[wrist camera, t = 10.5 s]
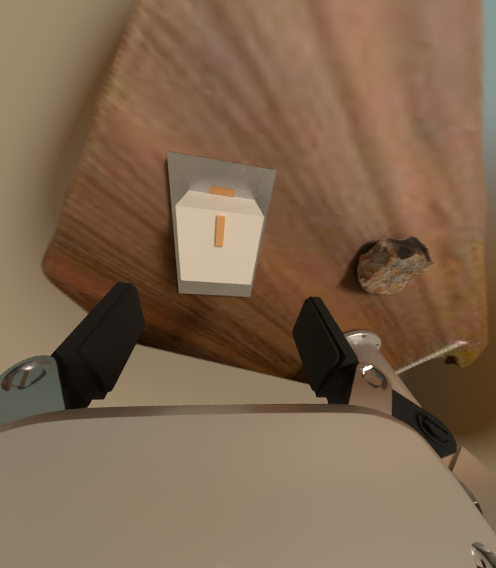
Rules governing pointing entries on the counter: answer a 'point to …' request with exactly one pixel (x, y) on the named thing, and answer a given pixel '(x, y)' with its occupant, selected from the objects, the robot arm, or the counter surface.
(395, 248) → the rock
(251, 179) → the plate
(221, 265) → the orange-striped white cube
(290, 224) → the counter surface
